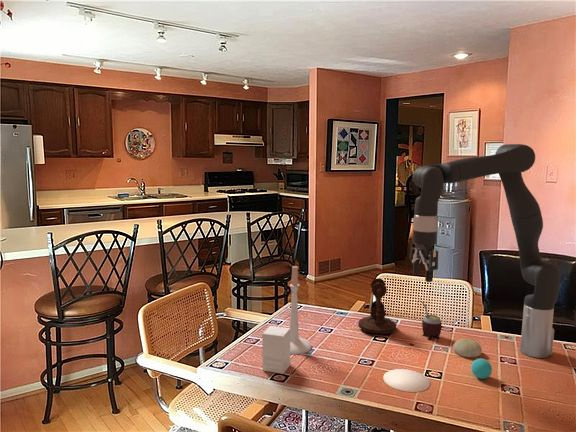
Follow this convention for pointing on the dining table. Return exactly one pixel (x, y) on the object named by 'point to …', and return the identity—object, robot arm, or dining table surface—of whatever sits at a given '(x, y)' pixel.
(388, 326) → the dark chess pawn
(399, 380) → the white disc
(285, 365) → the supplement box
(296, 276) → the candlestick
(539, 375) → the dining table surface
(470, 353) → the sea urchin shell
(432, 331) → the mate gourd
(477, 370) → the ball
